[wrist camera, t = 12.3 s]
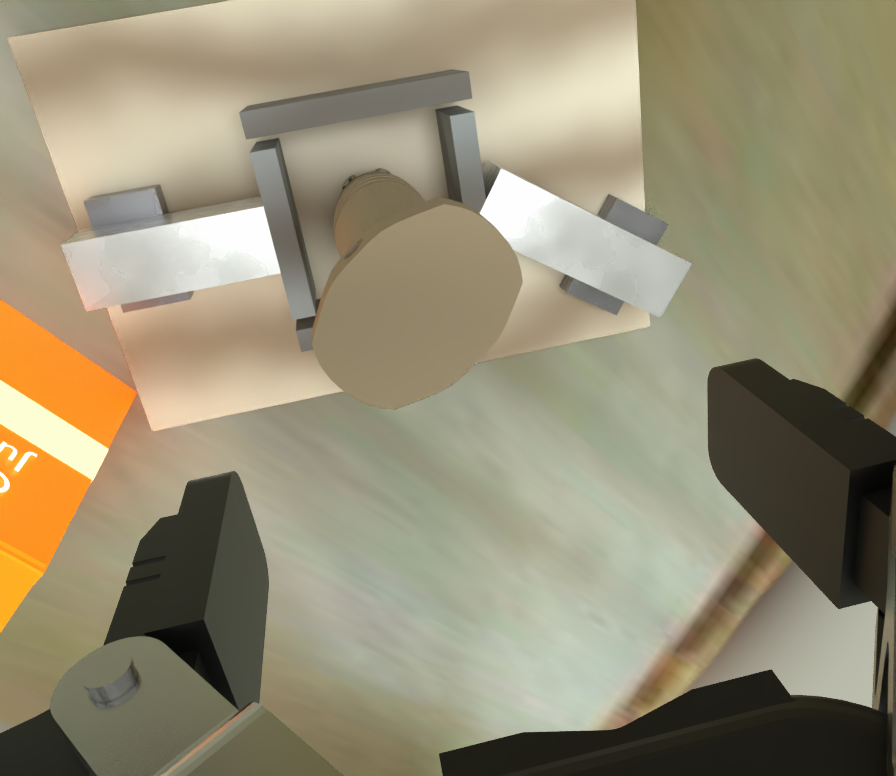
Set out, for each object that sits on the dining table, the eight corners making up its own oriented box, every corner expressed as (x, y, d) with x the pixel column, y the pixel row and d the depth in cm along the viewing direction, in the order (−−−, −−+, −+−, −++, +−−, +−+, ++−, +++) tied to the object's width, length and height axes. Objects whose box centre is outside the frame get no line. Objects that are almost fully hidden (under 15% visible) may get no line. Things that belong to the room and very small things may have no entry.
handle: (285, 217, 34) (277, 339, 21) (381, 110, 33) (437, 168, 20) (363, 286, 36) (401, 436, 23) (457, 187, 35) (553, 286, 22)
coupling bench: (15, 38, 31) (-35, 35, 26) (623, -63, 33) (673, -81, 29) (155, 422, 39) (135, 471, 34) (642, 320, 41) (683, 354, 36)
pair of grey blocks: (78, 198, 33) (50, 217, 29) (653, 92, 35) (692, 97, 31) (152, 402, 37) (135, 440, 33) (661, 297, 39) (696, 322, 36)
